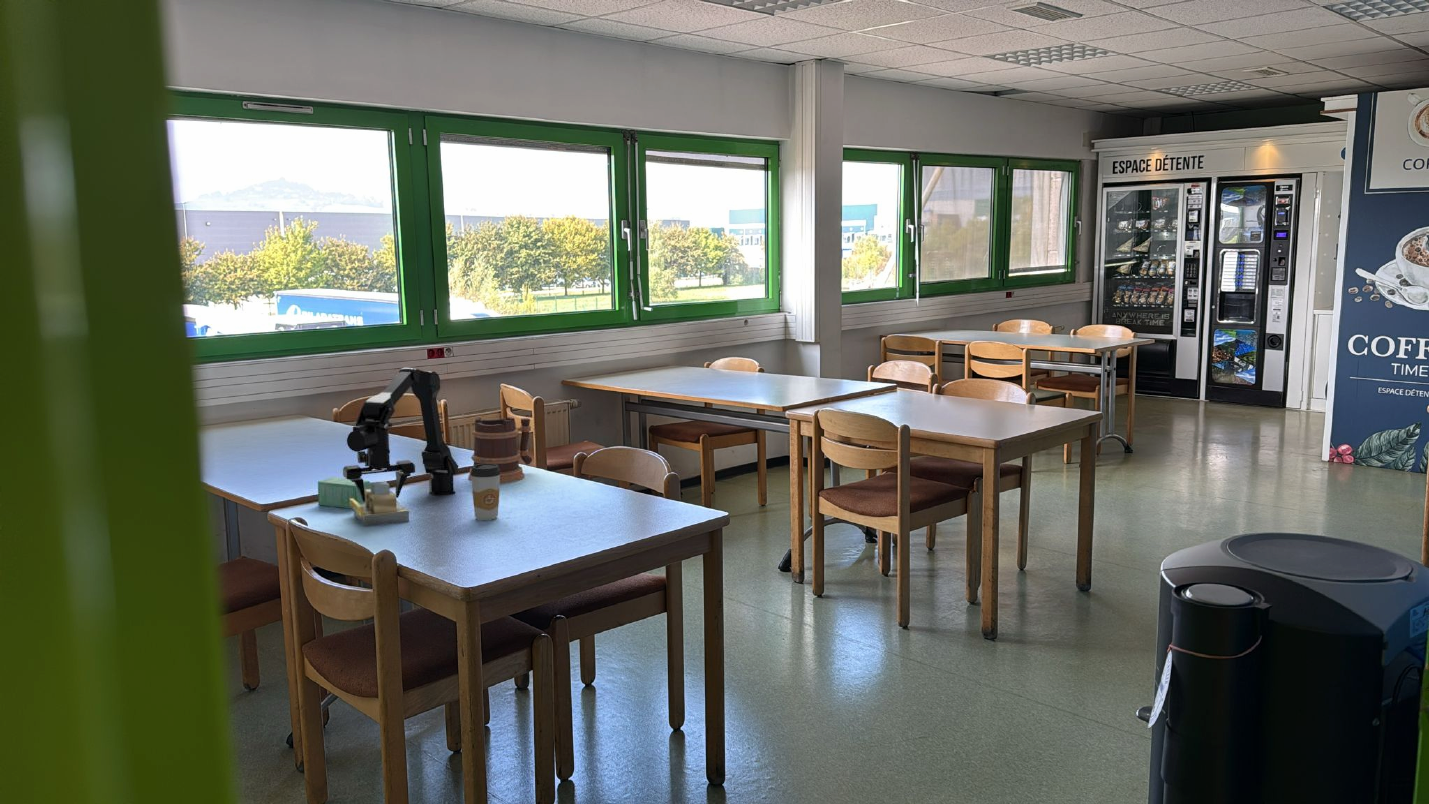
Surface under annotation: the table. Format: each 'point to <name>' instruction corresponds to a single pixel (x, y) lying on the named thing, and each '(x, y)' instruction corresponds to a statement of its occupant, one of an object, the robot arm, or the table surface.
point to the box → (339, 492)
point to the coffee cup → (485, 490)
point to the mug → (501, 446)
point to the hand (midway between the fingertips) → (380, 499)
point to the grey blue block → (380, 487)
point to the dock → (378, 514)
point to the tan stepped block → (380, 501)
